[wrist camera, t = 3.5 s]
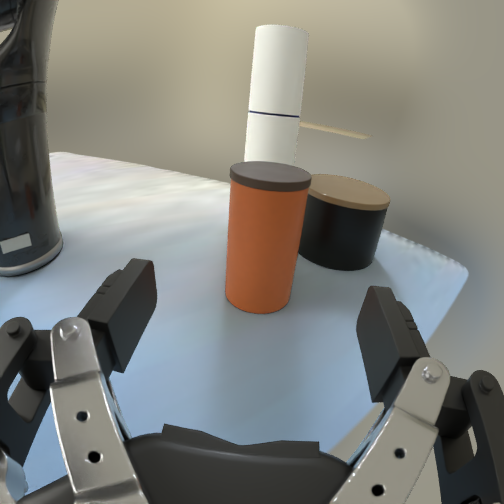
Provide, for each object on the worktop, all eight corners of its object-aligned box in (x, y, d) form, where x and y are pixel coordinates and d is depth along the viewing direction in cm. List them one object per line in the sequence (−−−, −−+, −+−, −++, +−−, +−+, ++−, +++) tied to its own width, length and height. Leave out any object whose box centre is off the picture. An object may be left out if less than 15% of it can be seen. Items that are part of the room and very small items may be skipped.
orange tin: (210, 294, 24) (213, 168, 19) (249, 267, 28) (259, 157, 23) (267, 325, 21) (287, 188, 16) (302, 290, 25) (324, 173, 20)
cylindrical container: (238, 202, 42) (253, 23, 29) (244, 187, 48) (258, 33, 36) (289, 208, 41) (310, 28, 29) (289, 193, 48) (307, 38, 35)
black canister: (276, 249, 31) (285, 183, 28) (313, 223, 38) (322, 169, 34) (360, 282, 27) (380, 213, 23) (381, 247, 34) (396, 192, 30)
